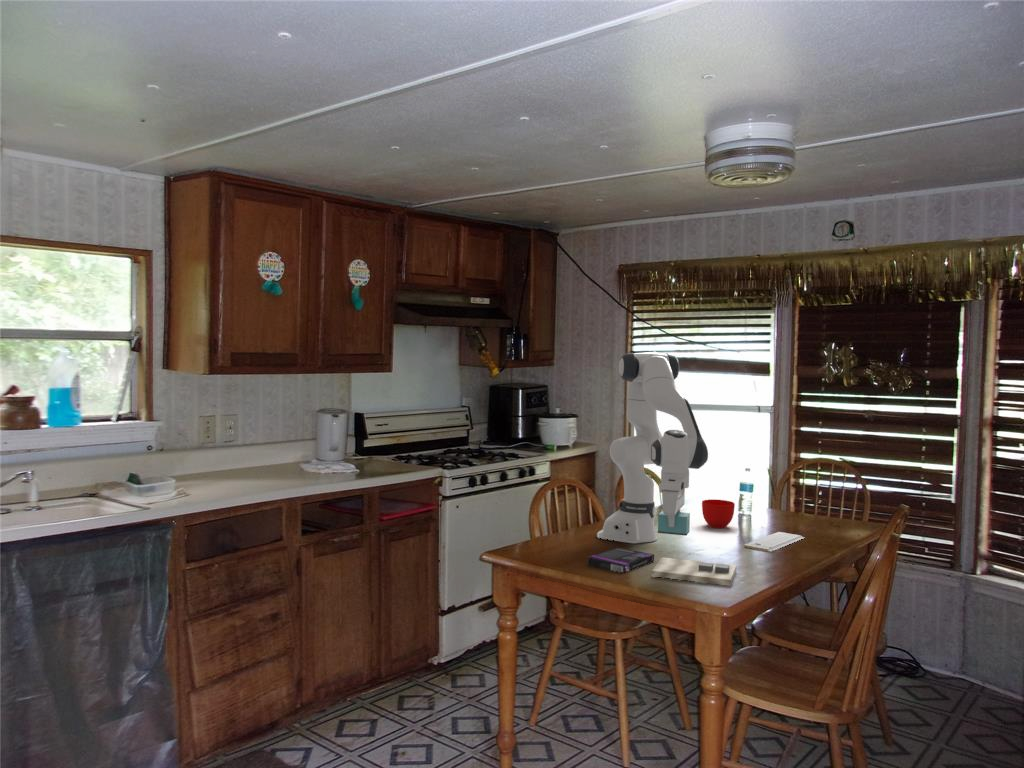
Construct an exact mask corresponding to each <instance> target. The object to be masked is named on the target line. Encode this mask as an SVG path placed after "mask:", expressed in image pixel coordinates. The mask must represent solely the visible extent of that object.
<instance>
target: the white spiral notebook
mask: <svg viewBox="0 0 1024 768" xmlns="http://www.w3.org/2000/svg"><path fill="white" fill-rule="evenodd" d="M804 538H805V539H806V537H804V536H802V535H800V534H793V533H787V532H781V531H777V532H775V533H772V534H769V535H765V536H763V537H760V538H757V539H756V540H753V541H749V542H747V543H743V548H744V547H747V548H746V549H750V548H752V549H751V550H755V549H757V550H756V551H760V550H762V552H766V551H767V552H766V553H774V552H776V551H778V550H781V549H783V548H786V547H787V545H788V546H790V545H789V544H791V545H793V544H795V543H797V541H798V542H800V541H802V540H801V539H803V540H804ZM799 540H800V541H799ZM794 542H795V543H794ZM792 543H793V544H792ZM785 546H786V547H785ZM782 547H783V548H782ZM780 548H781V549H780ZM775 550H776V551H775ZM773 551H774V552H773Z"/></svg>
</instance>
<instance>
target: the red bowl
mask: <svg viewBox="0 0 1024 768" xmlns="http://www.w3.org/2000/svg"><path fill="white" fill-rule="evenodd" d="M701 509H702V510H701V511H702V516H703V519H704V521H705V522H706V524H707V525H708V527H710V526H711V527H710V528H712V527H715V528H714V529H725V527H726V528H727V527H728V525H729V524H730V523H731V522H732V520H733V518H734V515H735V502H734V501H732V500H731V501H730V500H724V499H704V500H703V499H702V501H701Z"/></svg>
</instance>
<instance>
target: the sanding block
mask: <svg viewBox="0 0 1024 768" xmlns="http://www.w3.org/2000/svg"><path fill="white" fill-rule="evenodd" d="M690 516H691V513H690V512H681V511H680V512H677V513H676V514H675V526H674V527H669V520H668V515H665V514H664V512H663V510H661V511H660V512H659V513H658V514H657V519H658V520H657V533H658V534H664V535H665V534H666V535H673V536H674V535H677V536H686V537H687V535H688V534H689V533H690V525H691V524H690V523H691V522H690V520H691V517H690Z"/></svg>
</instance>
